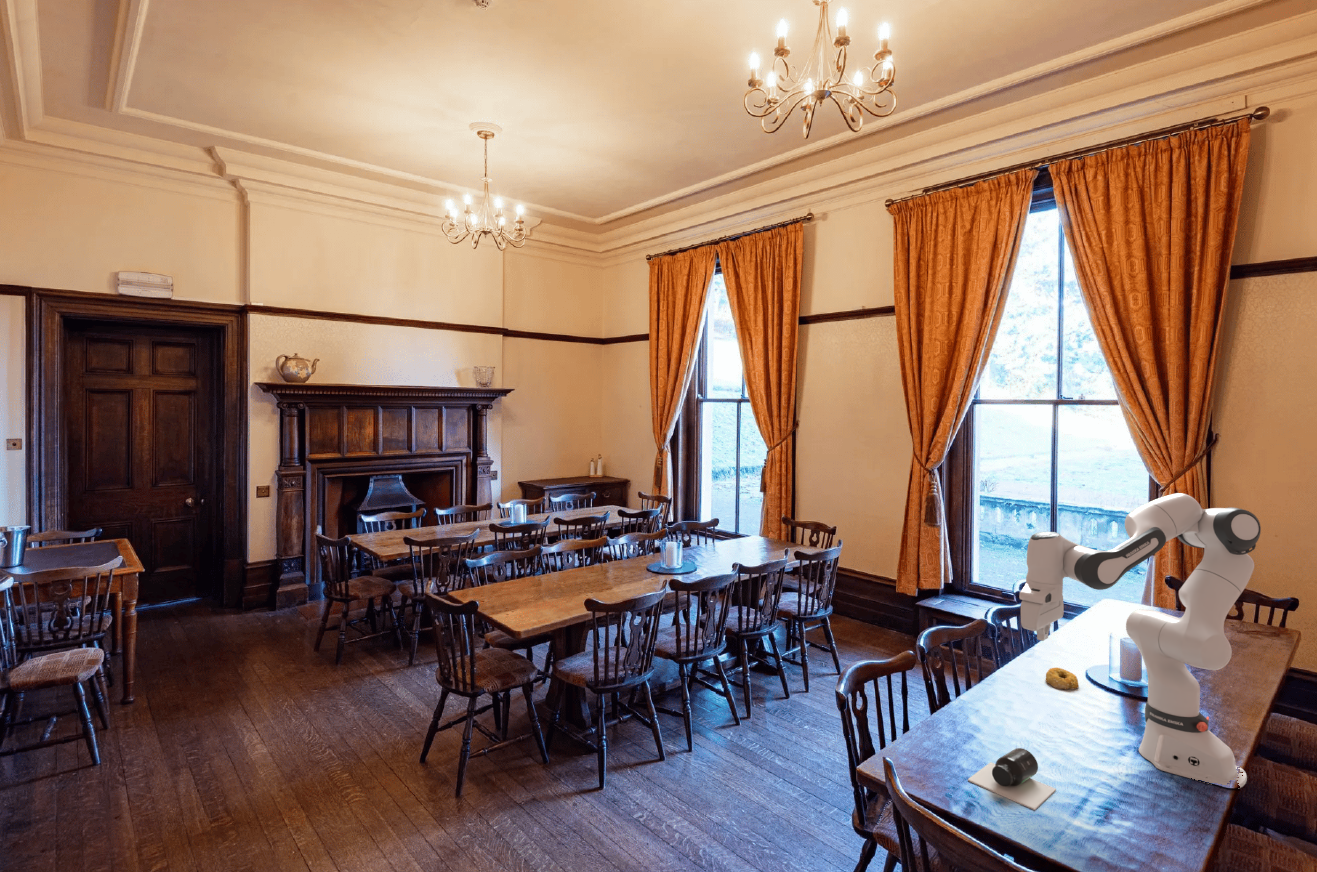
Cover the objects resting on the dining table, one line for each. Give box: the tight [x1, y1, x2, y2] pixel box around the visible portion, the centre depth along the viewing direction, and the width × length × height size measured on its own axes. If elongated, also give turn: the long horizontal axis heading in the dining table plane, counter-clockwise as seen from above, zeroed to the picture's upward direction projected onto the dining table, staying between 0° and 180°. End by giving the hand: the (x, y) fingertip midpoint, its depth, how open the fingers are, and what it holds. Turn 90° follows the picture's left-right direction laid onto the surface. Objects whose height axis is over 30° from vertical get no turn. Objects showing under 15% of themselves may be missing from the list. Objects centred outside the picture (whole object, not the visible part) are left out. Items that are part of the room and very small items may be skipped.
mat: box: [967, 761, 1057, 811], centre depth 167 cm, size 16×13×1 cm
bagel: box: [1045, 667, 1079, 690], centre depth 228 cm, size 10×11×5 cm
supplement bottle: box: [992, 747, 1039, 787], centre depth 167 cm, size 7×7×12 cm
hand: (1042, 639), depth 184 cm, fingers closed
